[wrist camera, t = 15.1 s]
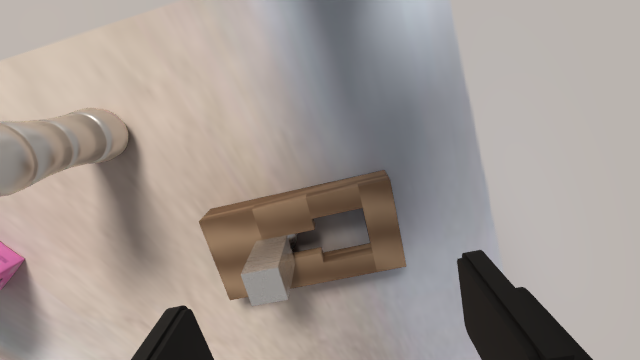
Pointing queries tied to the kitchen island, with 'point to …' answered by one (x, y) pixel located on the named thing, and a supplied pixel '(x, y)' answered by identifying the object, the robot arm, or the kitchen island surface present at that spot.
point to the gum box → (8, 264)
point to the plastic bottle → (57, 146)
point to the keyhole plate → (297, 216)
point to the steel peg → (270, 270)
